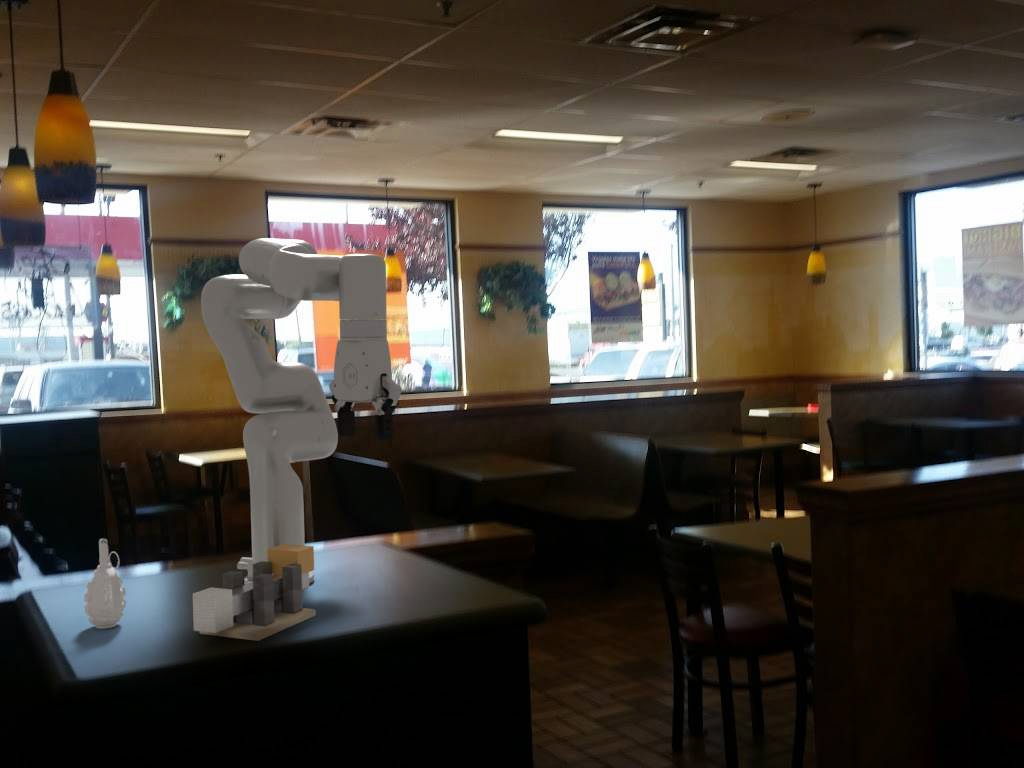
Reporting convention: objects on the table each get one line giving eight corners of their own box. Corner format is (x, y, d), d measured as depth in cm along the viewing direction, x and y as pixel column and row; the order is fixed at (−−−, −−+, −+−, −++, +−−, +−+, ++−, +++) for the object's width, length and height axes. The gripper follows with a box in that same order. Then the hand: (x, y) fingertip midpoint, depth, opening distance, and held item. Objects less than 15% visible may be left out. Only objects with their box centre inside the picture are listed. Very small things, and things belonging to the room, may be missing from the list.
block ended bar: (193, 630, 153) (192, 593, 153) (292, 591, 176) (291, 559, 175) (215, 633, 152) (214, 595, 151) (312, 593, 174) (311, 561, 174)
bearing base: (199, 633, 160) (197, 578, 159) (260, 609, 173) (258, 558, 173) (258, 640, 155) (256, 584, 155) (315, 615, 169) (314, 563, 169)
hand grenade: (78, 626, 165) (75, 539, 164) (116, 618, 169) (113, 533, 169) (98, 635, 160) (95, 545, 159) (137, 627, 164) (134, 539, 163)
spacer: (267, 573, 171) (267, 549, 171) (284, 567, 175) (283, 543, 175) (298, 575, 169) (297, 551, 169) (314, 570, 173) (313, 546, 173)
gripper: (312, 331, 170) (314, 435, 172) (379, 332, 159) (380, 443, 160) (349, 331, 176) (350, 431, 177) (416, 331, 164) (417, 439, 165)
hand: (364, 437), depth 168 cm, fingers open, 9 cm apart
